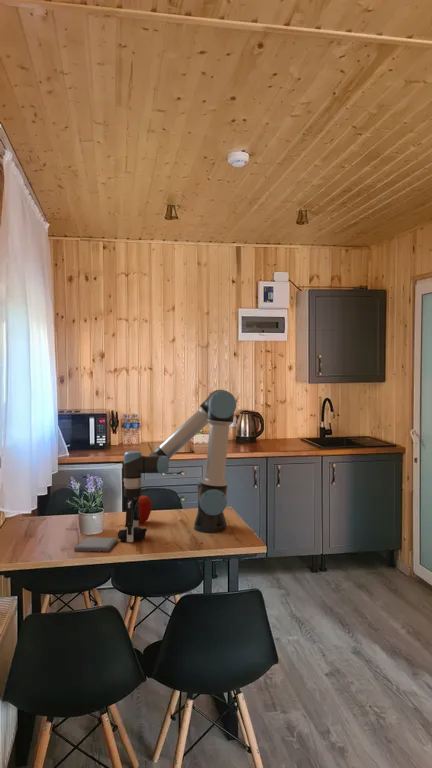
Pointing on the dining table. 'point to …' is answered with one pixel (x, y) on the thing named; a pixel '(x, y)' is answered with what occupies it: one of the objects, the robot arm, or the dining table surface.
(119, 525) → the dining table surface
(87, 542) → the plate
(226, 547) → the dining table surface
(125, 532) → the mineral
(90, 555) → the dining table surface
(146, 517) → the apple
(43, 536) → the dining table surface
